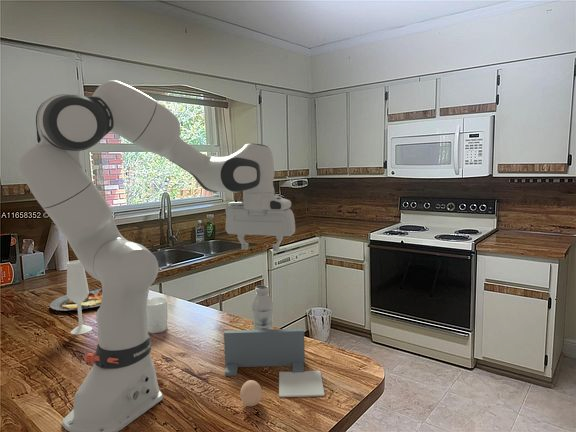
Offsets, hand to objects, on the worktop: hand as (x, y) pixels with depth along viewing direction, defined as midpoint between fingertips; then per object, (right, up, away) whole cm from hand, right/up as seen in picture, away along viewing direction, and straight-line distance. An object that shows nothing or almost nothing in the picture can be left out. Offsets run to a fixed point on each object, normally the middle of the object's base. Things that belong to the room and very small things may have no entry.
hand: (260, 250), depth 116 cm
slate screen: (+2, -32, -5) cm, 33 cm away
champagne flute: (-63, -30, +23) cm, 73 cm away
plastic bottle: (+1, -31, +4) cm, 31 cm away
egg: (-1, -35, -21) cm, 41 cm away
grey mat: (+11, -33, -13) cm, 37 cm away
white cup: (-37, -29, +22) cm, 52 cm away
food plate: (-75, -26, +50) cm, 94 cm away
